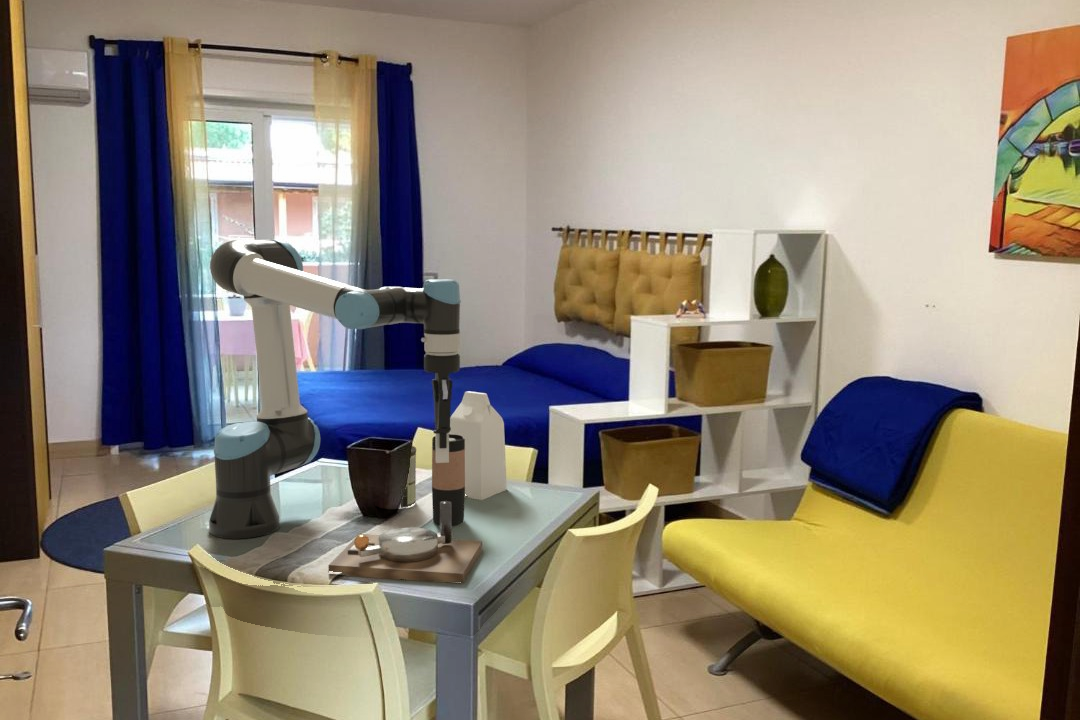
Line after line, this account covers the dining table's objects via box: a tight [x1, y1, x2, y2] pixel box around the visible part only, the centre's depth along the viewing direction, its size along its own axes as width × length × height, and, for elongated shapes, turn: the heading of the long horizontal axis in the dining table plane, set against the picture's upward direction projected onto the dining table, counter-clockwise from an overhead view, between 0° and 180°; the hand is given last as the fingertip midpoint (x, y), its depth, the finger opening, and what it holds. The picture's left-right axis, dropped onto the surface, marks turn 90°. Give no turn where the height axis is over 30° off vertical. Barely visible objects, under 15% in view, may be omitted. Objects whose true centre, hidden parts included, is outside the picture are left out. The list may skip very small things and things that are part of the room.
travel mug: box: [431, 434, 466, 527], centre depth 216 cm, size 8×8×20 cm
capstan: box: [354, 501, 452, 562], centre depth 190 cm, size 21×12×9 cm, turn 122°
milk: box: [449, 390, 508, 501], centre depth 241 cm, size 12×12×26 cm
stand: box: [327, 533, 483, 584], centre depth 191 cm, size 27×19×3 cm
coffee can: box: [401, 445, 417, 508], centre depth 229 cm, size 10×10×14 cm
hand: (442, 461), depth 200 cm, fingers closed
